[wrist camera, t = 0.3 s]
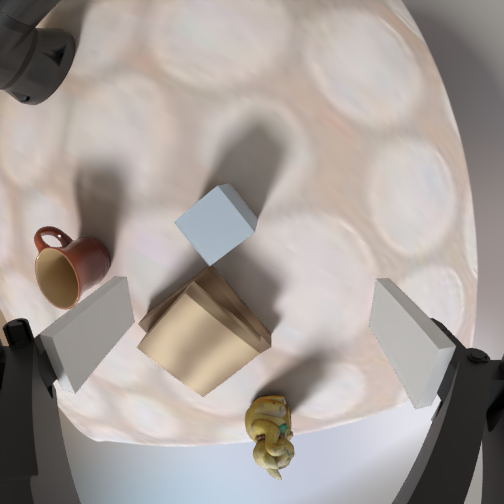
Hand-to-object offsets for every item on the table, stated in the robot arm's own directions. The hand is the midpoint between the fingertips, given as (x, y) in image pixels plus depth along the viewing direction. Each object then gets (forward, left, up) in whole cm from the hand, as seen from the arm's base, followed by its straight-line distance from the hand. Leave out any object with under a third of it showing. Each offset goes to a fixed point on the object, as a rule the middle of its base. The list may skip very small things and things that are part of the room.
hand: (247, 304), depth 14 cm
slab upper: (+7, -16, -21) cm, 27 cm away
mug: (-14, -24, -25) cm, 37 cm away
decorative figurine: (+27, -19, -25) cm, 41 cm away
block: (-4, -3, -24) cm, 25 cm away
